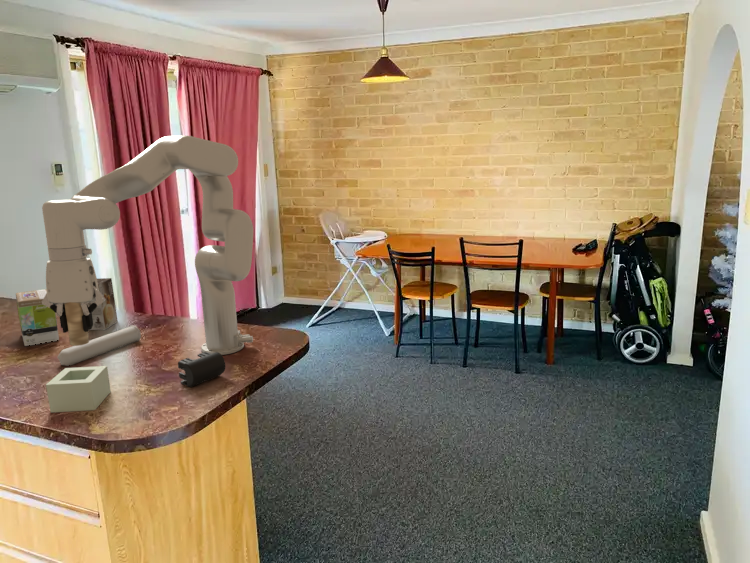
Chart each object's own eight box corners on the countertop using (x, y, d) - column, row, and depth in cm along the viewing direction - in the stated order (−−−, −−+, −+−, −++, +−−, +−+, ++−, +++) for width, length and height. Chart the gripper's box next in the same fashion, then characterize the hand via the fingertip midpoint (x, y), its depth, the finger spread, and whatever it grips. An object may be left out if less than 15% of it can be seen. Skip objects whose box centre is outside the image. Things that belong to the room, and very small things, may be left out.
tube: (66, 356, 155) (141, 329, 176) (54, 348, 157) (130, 322, 178) (65, 372, 158) (140, 344, 178) (53, 363, 160) (129, 336, 180)
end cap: (194, 391, 141) (192, 365, 139) (178, 384, 145) (175, 359, 143) (227, 377, 148) (224, 353, 147) (210, 371, 152) (208, 348, 151)
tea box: (60, 340, 180) (53, 296, 176) (24, 347, 175) (16, 301, 171) (55, 328, 192) (49, 287, 189) (21, 334, 187) (14, 292, 183)
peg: (91, 339, 135) (85, 291, 132) (84, 345, 131) (78, 295, 128) (74, 340, 135) (67, 292, 132) (67, 346, 131) (60, 296, 128)
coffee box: (100, 321, 199) (94, 278, 195) (118, 321, 199) (112, 277, 195) (87, 330, 190) (80, 284, 186) (105, 330, 190) (99, 284, 186)
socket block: (110, 391, 141) (107, 365, 139) (94, 409, 131) (90, 382, 129) (69, 394, 140) (65, 368, 138) (50, 412, 130) (45, 384, 129)
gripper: (111, 250, 133) (120, 324, 137) (37, 252, 131) (48, 327, 135) (99, 256, 125) (108, 334, 129) (20, 258, 124) (32, 337, 128)
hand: (77, 329), depth 132 cm, fingers closed on peg, 4 cm apart
